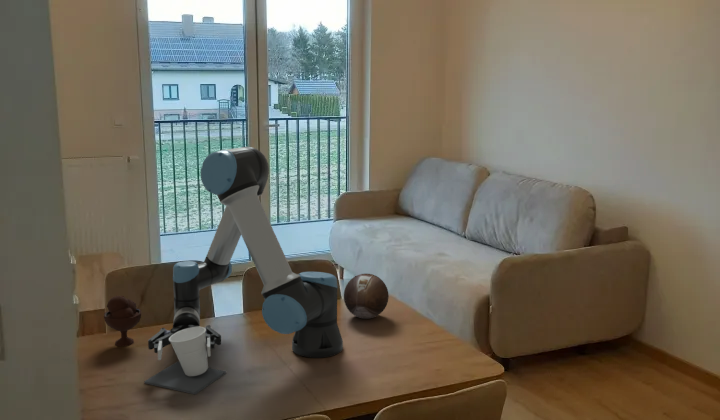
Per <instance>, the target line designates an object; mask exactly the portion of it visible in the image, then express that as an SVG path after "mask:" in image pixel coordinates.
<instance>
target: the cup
mask: <svg viewBox="0 0 720 420" xmlns="http://www.w3.org/2000/svg"><path fill="white" fill-rule="evenodd" d="M205 332H206V329H205V327H203V326H200V327H191V328H187V329H183V330H181V331H178V332H176V333H174V334H173V335H171V336H170V337H169V341H170V342H171V344H170V345H171V346H172V348H173V350H174V354H175V355H176V357H177V360H178V362H180V364H181V366H182V368H183V371H184V373H185V375H187V376H190V377H192V376H197V375H200V374H202V373H204V372H205V371H206V370H207V369H208V368H209V366H208V365H209V363H208V354H207V344H206V334H205Z"/></svg>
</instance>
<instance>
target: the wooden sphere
mask: <svg viewBox="0 0 720 420" xmlns="http://www.w3.org/2000/svg"><path fill="white" fill-rule="evenodd" d="M389 295H390V294H389V290H388V287H387V285H386V283H385V282H384V280H382V279H381V278H380V277H379V276H377V275H376V274H375V275H374V274H372V273H361V274H357V275H355V276H353V277H352V278H351V279H350V280H349V281H348V282H347V284H346V286H345V288H344V291H343V302H344V305H345V306H346V308H347V310H348V311H349V313H351V314H352V315H354V316H355V317H357V318H359V319H365V320H368V319H374V318H376V317H378V316H379V315H381V314H382V313H383V311H384V310H385V309H386V308H387V305H388V303H389V298H390V297H389Z"/></svg>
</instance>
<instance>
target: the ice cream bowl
mask: <svg viewBox="0 0 720 420" xmlns="http://www.w3.org/2000/svg"><path fill="white" fill-rule="evenodd" d="M106 307H107V309H108V310H107V311H105V312H104V313H103V319H104V322H105V323H106V325H107V326H109V328H112V329H113V330H115V331H118V332H120V338H118V339H117V340H116V341H115V343H114V345H115V346H117V347H127V346H131V345H133V344H134V343H135V341H134V339H133V338H131V337H128V331H129V330H131V329H133V328H134V327H135V326H137V325H138V323H140V321H141V318H142V309H140V308H137V303H136V302H135V301H133V300H131V299H129V298H127V297H125V296H124V295H116V296H112V297H111V298H110V299H109V300H108V301H107V305H106Z"/></svg>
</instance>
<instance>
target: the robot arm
mask: <svg viewBox="0 0 720 420" xmlns="http://www.w3.org/2000/svg"><path fill="white" fill-rule="evenodd" d="M267 159H268V158H267V157H266V155H264V154H263V153H262V152H261V150H259V149H257V148H255V147H251V146H241V147H236V148H235V147H234V148H228V149H226V148H225V149H220V150H218V151H214V152H211V153H210V154H208V155H207V156H206V157H205V158H204V160H203V162H202V165H201V168H200V180H201V183H202V185H203V187H204V189H205V190H206V191H207V192H210V193H211V194H213V195H216V196H217V197H218V200H219V202H220V205H224V206H225V208H224V210H223V213H222V216H221V218H220V220H219V224H218V226H217V229H216V230H215V233H214V236H213V239H212V240H211V241H212V242H211V243H210V246H209V249H208V252H207V254H206V256H205V258H204V261H202V262H201V263H197V262H196V261H193V260H184V261H179V262H176V263H175V264H174V265H173V267H172V282H173V283H172V284H173V309H174V310H173V320H172V321H173V323H172V328H170V330H169V329H168V330H167V329H166V328H165V327H161V328H159V329H160V330H159V331H158V332H157V333H155V334H154V335H153V336H151V337H150V338H149V339H147V343H148V345H147V346H148V347H147V348H148V350H154V351H153V352H154V353H155V354H157V361H161V360H162V357H163V355H162V354H163V349H164V348H165V347H167V346H169V345H172V344H171V342H170V341H169V337H170V336H171V335H173V334H174V333H176V332H178V331H181V330H183V329H187V328H191V327H201V325H200V323H201V322H200V321H201V320H200V319H201V317H200V316H201V306H200V304H201V303H200V302H201V301H200V297H201V296H200V290H202V289H205V288H207V287H209V286H212V285H214V284H217V283H221V282H223V281H224V280H226V279H228V278H229V277H230V276H231V274H232V272H233V269H232V268H233V266H232V263H231V260H232V257H233V255H234V253H235V250H236V248H237V246H238V244H239V241H240V239H241V237H242V240H243V242H244V244H245V246H246V248H247V249H246V250H248V253H249V255H250V257H251V260H252V261H253V263H254V266H255V268H256V270H257V272H258V275H259V277H260V280H261V282H262V284H263V288H262V291H261V296H262V298H263V300H264V301H263V303H262V305H261V306H262V309H261V315H262V318H263V321H264V322H265V324H266V325H267V326H268V327H269V328H270V329H271V330H272V331H274V332H277V333H279V334H282V335H289V334H293V337H292V340H291V350H292V352H293V353H295V355H298V356H301V357H306V358H314V359H319V358H328V357H333V356H335V355H337V354H340V353H341V352H342V351H343V350H344V349H343V348H344V346H343V345H344V341H343V337H342V335H341V330H340V328H339V325H338V288H339V287H338V279H337V277H336V275H334V274H332V273H329V272H323V271H302V272H300V273H295V272H293V271H292V268H291V266H290V264H289V262H288V260H287V258H286V254H285V253H284V251H283V248H282V247H281V244H280V241H279V239H278V238H277V236H276V233H275V232H274V229H273V226H272V224H271V222H270V220H269V218H268V215H267V214H266V210H265V209H264V207H263V204H262V203H261V201H260V198H259V197H260V196H262V195H263V193H264V190H265V188H266V186H267V181H268V179H269V174H270V173H269V172H270V168H269V163H268V160H267ZM204 328H205V329H206V332H205V334H206V348H207V357H211V350H215V349H216V348H215V346H216V345H218V346H220V345H222V335H221V334H220V333H218V332H217V331H216V330H214V329H213V328H212V326H211V325H210V324H207V325H206V326H205V327H204Z"/></svg>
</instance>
